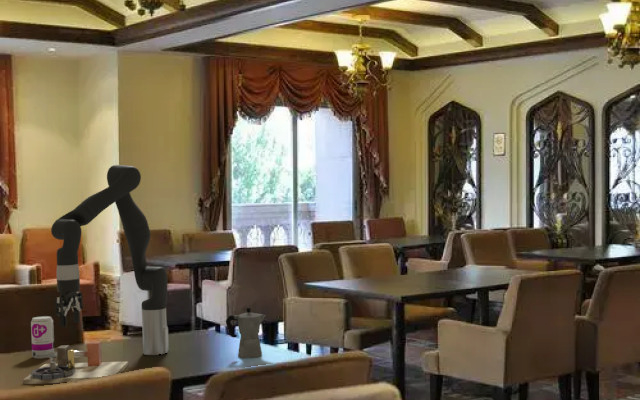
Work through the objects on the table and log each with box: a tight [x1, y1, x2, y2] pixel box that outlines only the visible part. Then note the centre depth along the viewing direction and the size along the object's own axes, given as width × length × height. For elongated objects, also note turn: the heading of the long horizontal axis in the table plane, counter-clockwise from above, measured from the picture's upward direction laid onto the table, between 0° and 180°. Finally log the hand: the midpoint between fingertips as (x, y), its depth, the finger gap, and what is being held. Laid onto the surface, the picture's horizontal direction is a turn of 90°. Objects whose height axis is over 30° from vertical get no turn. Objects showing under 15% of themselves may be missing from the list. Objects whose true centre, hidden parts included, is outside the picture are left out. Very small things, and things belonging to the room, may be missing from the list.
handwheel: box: [30, 349, 76, 380], centre depth 302 cm, size 14×14×8 cm
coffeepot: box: [225, 307, 267, 359], centre depth 331 cm, size 15×9×18 cm, turn 110°
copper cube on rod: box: [48, 340, 103, 366], centre depth 316 cm, size 18×4×8 cm, turn 90°
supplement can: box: [30, 315, 55, 359], centre depth 341 cm, size 8×8×15 cm
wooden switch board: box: [22, 344, 129, 385], centre depth 308 cm, size 30×24×8 cm
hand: (70, 324), depth 305 cm, fingers open, 8 cm apart
